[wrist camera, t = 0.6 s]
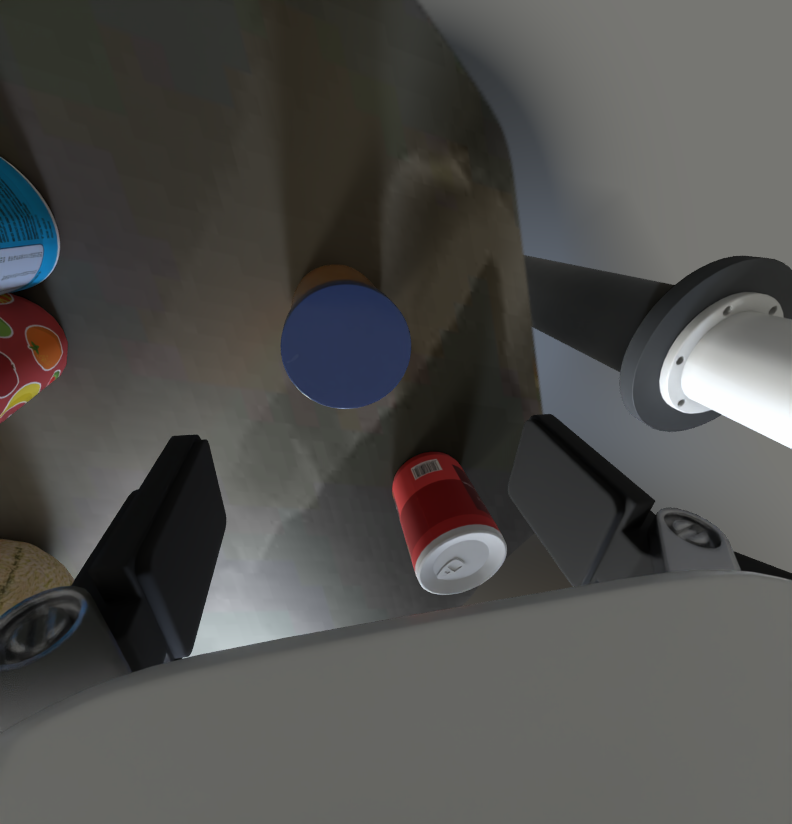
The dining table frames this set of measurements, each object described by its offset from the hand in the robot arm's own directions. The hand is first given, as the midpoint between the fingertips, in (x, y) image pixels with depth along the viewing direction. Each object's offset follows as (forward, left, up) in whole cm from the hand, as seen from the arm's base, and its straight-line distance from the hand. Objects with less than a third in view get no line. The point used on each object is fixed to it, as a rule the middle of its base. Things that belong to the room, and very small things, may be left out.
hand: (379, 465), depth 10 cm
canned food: (-9, +18, -20) cm, 29 cm away
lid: (0, 0, -11) cm, 11 cm away
